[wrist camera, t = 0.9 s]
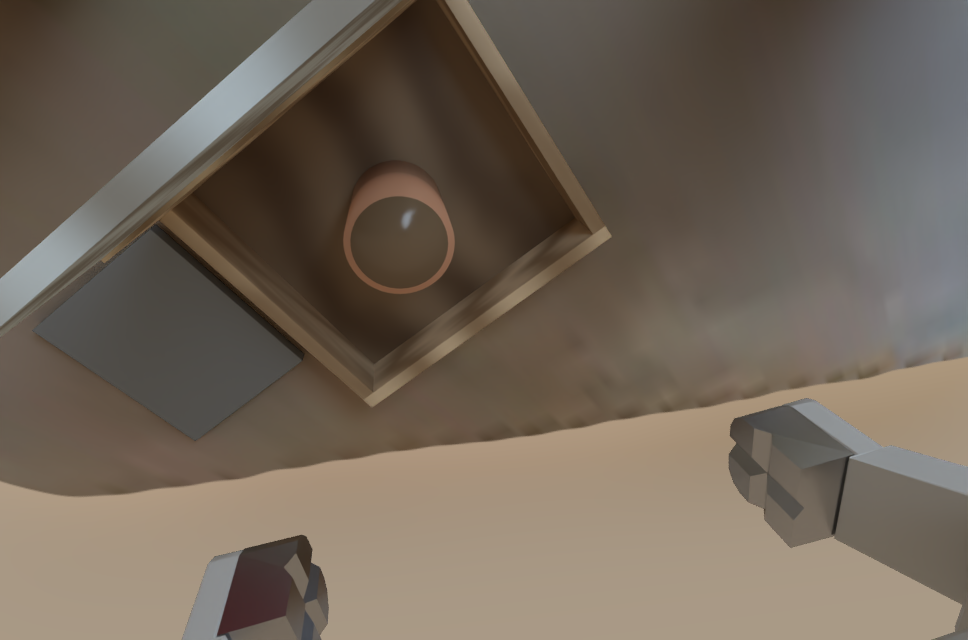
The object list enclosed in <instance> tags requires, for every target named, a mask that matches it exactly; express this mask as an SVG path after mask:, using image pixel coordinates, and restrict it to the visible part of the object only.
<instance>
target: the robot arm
mask: <svg viewBox="0 0 968 640" xmlns="http://www.w3.org/2000/svg"><path fill="white" fill-rule="evenodd" d="M730 436H731V438H732V439H733V440H734V441H735V442H736V445H735V446H734V448H733V449H732V450H731V452H730V453H729V470H730V474H731V476H732V480H733V482H734V484H735V486H736V487H737V489H738V491H739V492H740V493H741V494H742V496H743V497H744V498H745V499H746V500H747V501H748V502H749V503H751V504H754V505H756V506H758V507H761V508H763V509H764V519H765V521H766V522H767V523H768V524H769V525H770V526H771V527H772V529H773V530H774V531H775V532H776V533H777V534H778V535H779V536H780V537H781V538H782V539H783V540H784V541H785V543H786V544H787V545H788V546H789V547H791V548H792V547H795V546H799V545H803V544H807V543H810V542H814V541H818V540H821V539H825V538H829V537H833V536H835V539H836V540H838V541H840V542H842V543H844V544H846V545H848V546H850V547H852V548H854V549H856V550H858V551H859V552H861V553H863V554H865V555H867V556H869V557H871V558H873V559H875V560H877V561H879V562H881V563H883V564H885V565H887V566H889V567H890V568H893V569H894V570H896V571H898V572H900V573H902V574H904V575H906V576H908V577H910V578H912V579H914V580H916V581H918V582H920V583H921V584H923V585H925V586H927V587H929V588H931V589H933V590H935V591H937V592H939V593H941V594H943V595H945V596H947V597H949V598H950V599H952V600H954V601H956V602H958V603H960V604H962V608H961V611H960V614H959V617H958V619H957V622H956V625H955V632H953V633H950V634H947V635H944V636H941V637H939V638H936V639H933V640H968V467H966V466H963V465H959V464H956V463H952V462H949V461H945V460H941V459H938V458H934V457H931V456H927V455H923V454H920V453H917V452H913V451H909V450H906V449H902V448H899V447H895V446H892V445H891V446H887V447H882V446H881V445H879V444H878V443H876V442H875V441H873V440H872V439H871V438H869V437H867V436H866V435H865V434H863V433H862V432H860V431H859V430H858V429H856V428H855V427H853V426H852V425H850V424H849V423H847V422H846V421H845V420H843V419H842V418H840V417H839V416H837V415H836V414H834V413H833V412H832V411H830V410H829V409H827V408H826V407H824V406H823V405H821V404H820V403H818V402H817V401H815V400H812V399H809V398H805V399H801V400H798V401H795V402H791V403H788V404H784V405H782V406H778V407H774V408H771V409H767V410H764V411H760V412H756V413H753V414H749V415H745V416H742V417H738V418H735V419H734V420H733V422H732V424H731V429H730ZM311 557H312V548H311V545H310V544H309V541H308V539H307V537H306V536H304V535H299V536H295V537H291V538H286V539H283V540H278V541H274V542H270V543H266V544H262V545H258V546H254V547H249V548H245V549H244V550H240V551H236V552H232V553H228V554H223V555H219V556H215V557H214V558H213V559H212V560H211V561H210V562H209V564H208V565H207V569H206V571H205V574H204V577H203V580H202V582H201V586H200V588H199V592H198V594H197V597H196V600H195V603H194V606H193V608H192V611H191V614H190V617H189V620H188V623H187V626H186V629H185V632H184V634H183V637H182V640H321V638H320V634H321V632H322V631H323V630H324V628H325V627H326V625H327V624H328V608H329V607H328V596H327V588H326V584H325V580H324V576H323V574H322V571H321V569H320V567H318V566H316V565H314V564H313V563H311Z"/></svg>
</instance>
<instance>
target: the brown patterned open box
mask: <svg viewBox="0 0 968 640" xmlns="http://www.w3.org/2000/svg"><path fill="white" fill-rule="evenodd" d="M391 160H399V161H406V162H409V163H412V164H415V165H417V166H419V167H420V168H422V169H423V170H425V171H426V172H427V173H428V174H429V175H430V176H431V177H432V178H433V180H434V181H435V183H436V185H437V187H438V189H439V191H440V194H441V197H442V200H443V202H444V205H445V208H446V211H447V214H448V216H449V219H450V222H451V225H452V228H453V232H454V239H455V246H454V253H453V257H452V260H451V262H450V264H449V266H448V268H447V270H446V271H445V272H444V274H443V275H442V276H441V277H440V278H439V279H438V280H437V281H436V282H434V283H433V284H432V285H430V286H428V287H426V288H424V289H422V290H419V291H417V292H412V293H406V294H393V293H387V292H383V291H380V290H378V289H375V288H373V287H371V286H370V285H368V284H367V283H365V282H364V281H363V280H361V279H360V278H359V277H358V276H357V275H356V273H355V272H354V271H353V270H352V268H351V266H350V265H349V263H348V261H347V258H346V255H345V251H344V245H343V237H344V230H345V225H346V220H347V216H348V211H349V207H350V202H351V198H352V193H353V190H354V187H355V185H356V183H357V181H358V179H359V178H360V177H361V176H362V174H363V173H364V172H366V171H367V170H368V169H369V168H371V167H372V166H374V165H376V164H378V163H381V162H385V161H391ZM158 220H160V221H161V222H162V223H163V224H164V225H165V226H166V227H168V228H169V229H170V230H171V231H172V232H173V233H174V234H176V235H177V236H178V237H179V238H180V239H181V240H182V241H183V242H185V243H186V244H187V245H188V246H189V247H190V248H191V249H193V250H194V251H195V252H196V253H197V254H198V255H199V256H200V257H202V258H203V259H204V260H205V261H206V262H207V263H208V264H210V265H211V266H212V267H213V268H214V269H215V270H216V271H217V272H219V273H220V274H221V275H222V276H223V277H224V278H225V279H227V280H228V281H229V282H230V283H231V284H232V285H233V286H234V287H236V288H237V289H238V290H239V291H240V292H241V293H242V294H244V295H245V296H246V297H247V298H248V299H249V300H250V301H252V302H253V303H254V304H255V305H256V306H257V307H258V308H259V309H261V310H262V311H263V312H264V313H265V314H266V315H267V316H269V317H270V318H271V319H272V320H273V321H274V322H275V323H276V324H278V325H279V326H280V327H281V328H282V329H283V330H284V331H286V332H287V333H288V334H289V335H290V336H291V337H292V338H293V339H295V340H296V341H297V342H298V343H299V344H300V345H301V346H303V347H304V348H305V349H306V350H307V351H308V352H309V353H310V354H312V355H313V356H314V357H315V358H316V359H317V360H318V361H320V362H321V363H322V364H323V365H324V366H325V367H326V368H328V369H329V370H330V371H331V372H332V373H333V374H334V375H335V376H337V377H338V378H339V379H340V380H341V381H342V382H343V383H345V384H346V385H347V386H348V387H349V388H350V389H351V390H352V391H354V392H355V393H356V394H357V395H358V396H359V397H360V398H362V399H363V400H364V401H365V402H366V403H367V404H368V405H369V406H371V407H374V406H375V405H376V404H378V403H379V402H381V401H382V400H383V399H385V398H386V397H388V396H389V395H390V394H392V393H393V392H395V391H396V390H398V389H399V388H400V387H402V386H403V385H405V384H406V383H407V382H409V381H410V380H412V379H413V378H414V377H416V376H417V375H419V374H420V373H421V372H423V371H424V370H426V369H427V368H428V367H430V366H431V365H433V364H434V363H435V362H437V361H438V360H440V359H441V358H442V357H444V356H445V355H447V354H448V353H449V352H451V351H452V350H454V349H455V348H456V347H458V346H459V345H461V344H462V343H463V342H465V341H466V340H468V339H469V338H470V337H472V336H473V335H475V334H476V333H477V332H479V331H480V330H482V329H483V328H484V327H486V326H487V325H489V324H490V323H491V322H493V321H494V320H496V319H497V318H498V317H500V316H501V315H503V314H504V313H506V312H507V311H508V310H510V309H511V308H513V307H514V306H515V305H517V304H518V303H520V302H521V301H522V300H524V299H525V298H527V297H528V296H529V295H531V294H532V293H534V292H535V291H536V290H538V289H539V288H541V287H542V286H543V285H545V284H546V283H548V282H549V281H550V280H552V279H553V278H555V277H556V276H557V275H559V274H560V273H562V272H563V271H564V270H566V269H567V268H569V267H570V266H571V265H573V264H574V263H576V262H577V261H578V260H580V259H581V258H583V257H584V256H585V255H587V254H588V253H590V252H591V251H592V250H594V249H595V248H597V247H598V246H599V245H601V244H602V243H604V242H605V241H606V240H608V239H609V238H611V237H612V236H611V234H610V233H609V231H608V230H607V228H606V226H605V225H604V223H603V221H602V220H601V218H600V216H599V215H598V213H597V212H596V210H595V208H594V207H593V205H592V203H591V202H590V200H589V199H588V197H587V195H586V194H585V192H584V190H583V189H582V187H581V185H580V184H579V182H578V181H577V179H576V177H575V176H574V174H573V172H572V171H571V169H570V168H569V166H568V164H567V163H566V161H565V159H564V158H563V156H562V154H561V153H560V151H559V150H558V148H557V146H556V145H555V143H554V141H553V140H552V138H551V137H550V135H549V133H548V132H547V130H546V128H545V127H544V125H543V123H542V122H541V120H540V119H539V117H538V115H537V114H536V112H535V110H534V109H533V107H532V105H531V104H530V102H529V101H528V99H527V97H526V96H525V94H524V92H523V91H522V89H521V88H520V86H519V84H518V83H517V81H516V79H515V78H514V76H513V74H512V73H511V71H510V70H509V68H508V66H507V65H506V63H505V61H504V60H503V58H502V57H501V55H500V53H499V52H498V50H497V48H496V47H495V45H494V43H493V42H492V40H491V39H490V37H489V35H488V34H487V32H486V30H485V29H484V27H483V26H482V24H481V22H480V21H479V19H478V17H477V16H476V14H475V12H474V11H473V9H472V8H471V6H470V4H469V3H468V1H467V0H312V1H311V2H310V3H309V4H308V5H306V6H305V7H304V8H303V9H302V10H301V11H300V12H299V13H297V14H296V15H295V16H294V17H293V18H292V19H291V20H290V21H289V22H287V23H286V24H285V25H284V26H283V27H282V28H281V29H280V30H278V31H277V32H276V33H275V34H274V35H273V36H272V37H271V38H270V39H268V40H267V41H266V42H265V43H264V44H263V45H262V46H261V47H259V48H258V49H257V50H256V51H255V52H254V53H253V54H252V55H250V56H249V57H248V58H247V59H246V60H245V61H244V62H243V63H242V64H240V65H239V66H238V67H237V68H236V69H235V70H234V71H233V72H231V73H230V74H229V75H228V76H227V77H226V78H225V79H224V80H222V81H221V82H220V83H219V84H218V85H217V86H216V87H215V88H214V89H212V90H211V91H210V92H209V93H208V94H207V95H206V96H205V97H203V98H202V99H201V100H200V101H199V102H198V103H197V104H196V105H194V106H193V107H192V108H191V109H190V110H189V111H188V112H187V113H186V114H184V115H183V116H182V117H181V118H180V119H179V120H178V121H177V122H175V123H174V124H173V125H172V126H171V127H170V128H169V129H168V130H166V131H165V132H164V133H163V134H162V135H161V136H160V137H159V138H158V139H156V140H155V141H154V142H153V143H152V144H151V145H150V146H149V147H147V148H146V149H145V150H144V151H143V152H142V153H141V154H140V155H139V156H137V157H136V158H135V159H134V160H133V161H132V162H131V163H130V164H128V165H127V166H126V167H125V168H124V169H123V170H122V171H121V172H119V173H118V174H117V175H116V176H115V177H114V178H113V179H112V180H111V181H109V182H108V183H107V184H106V185H105V186H104V187H103V188H102V189H100V190H99V191H98V192H97V193H96V194H95V195H94V196H93V197H91V198H90V199H89V200H88V201H87V202H86V203H85V204H84V205H83V206H81V207H80V208H79V209H78V210H77V211H76V212H75V213H74V214H72V215H71V216H70V217H69V218H68V219H67V220H66V221H65V222H63V223H62V224H61V225H60V226H59V227H58V228H57V229H56V230H55V231H53V232H52V233H51V234H50V235H49V236H48V237H47V238H46V239H44V240H43V241H42V242H41V243H40V244H39V245H38V246H37V247H35V248H34V249H33V250H32V251H31V252H30V253H29V254H28V255H27V256H25V257H24V258H23V259H22V260H21V261H20V262H19V263H18V264H16V265H15V266H14V267H13V268H12V269H11V270H10V271H9V272H8V273H6V274H5V275H4V276H3V277H2V278H1V279H0V337H1V336H3V335H4V334H5V333H6V332H8V331H9V330H10V329H12V328H13V327H14V326H16V325H17V324H18V323H19V322H21V321H22V320H23V319H25V318H26V317H27V316H29V315H30V314H31V313H33V312H34V311H35V310H36V309H38V308H39V307H40V306H42V305H43V304H44V303H46V302H47V301H48V300H49V299H51V298H52V297H53V296H55V295H56V294H57V293H59V292H60V291H61V290H62V289H64V288H65V287H66V286H68V285H69V284H70V283H72V282H73V281H74V280H75V279H77V278H78V277H79V276H81V275H82V274H83V273H85V272H86V271H87V270H88V269H90V268H91V267H92V266H94V265H95V264H96V263H98V262H99V261H100V260H101V261H102V262H103V263H105V262H106V261H108V260H109V259H110V258H112V257H113V256H114V255H115V254H117V253H118V252H119V251H120V250H122V249H123V248H124V247H125V246H127V245H128V244H129V243H131V242H132V241H133V240H134V239H136V238H137V237H138V236H139V235H141V234H142V233H143V232H144V231H146V230H147V229H148V228H149V227H151V226H152V225H153V224H155V223H156V222H157V221H158Z"/></svg>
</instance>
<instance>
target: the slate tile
mask: <svg viewBox="0 0 968 640" xmlns="http://www.w3.org/2000/svg"><path fill="white" fill-rule="evenodd" d="M32 331H33V332H35V333H36V334H38V335H39V336H41V337H42V338H44V339H45V340H47V341H48V342H50V343H51V344H53V345H54V346H55V347H57V348H58V349H60V350H61V351H63V352H64V353H66V354H67V355H69V356H70V357H72V358H73V359H75V360H76V361H78V362H79V363H81V364H82V365H84V366H85V367H86V368H88V369H89V370H91V371H92V372H94V373H95V374H97V375H98V376H100V377H101V378H103V379H104V380H106V381H107V382H109V383H110V384H112V385H113V386H115V387H116V388H118V389H119V390H120V391H122V392H123V393H125V394H126V395H128V396H129V397H131V398H132V399H134V400H135V401H137V402H138V403H140V404H141V405H143V406H144V407H146V408H147V409H149V410H150V411H151V412H153V413H154V414H156V415H157V416H159V417H160V418H162V419H163V420H165V421H166V422H168V423H169V424H171V425H172V426H174V427H175V428H177V429H178V430H180V431H181V432H182V433H184V434H185V435H187V436H188V437H190V438H191V439H193V440H194V441H196V440H198V439H199V438H200V437H202V436H203V435H204V434H206V433H207V432H208V431H210V430H211V429H212V428H214V427H215V426H216V425H218V424H219V423H220V422H222V421H223V420H224V419H226V418H227V417H228V416H230V415H231V414H232V413H233V412H235V411H236V410H237V409H239V408H240V407H241V406H243V405H244V404H245V403H247V402H248V401H249V400H251V399H252V398H253V397H255V396H256V395H257V394H259V393H260V392H261V391H263V390H264V389H265V388H267V387H268V386H269V385H271V384H272V383H273V382H275V381H276V380H277V379H279V378H280V377H281V376H283V375H284V374H285V373H287V372H288V371H289V370H291V369H292V368H293V367H295V366H296V365H297V364H299V363H300V362H301V361H302V360H303V357H304V354H303V353H302V352H301V351H300V350H299V349H298V348H296V347H295V346H294V345H293V344H292V343H291V342H290V341H288V340H287V339H286V338H285V337H284V336H283V335H282V334H280V333H279V332H278V331H277V330H276V329H275V328H274V327H272V326H271V325H270V324H269V323H268V322H267V321H266V320H264V319H263V318H262V317H261V316H260V315H259V314H258V313H256V312H255V311H254V310H253V309H252V308H251V307H250V306H248V305H247V304H246V303H245V302H244V301H243V300H242V299H240V298H239V297H238V296H237V295H236V294H235V293H234V292H232V291H231V290H230V289H229V288H228V287H227V286H226V285H224V284H223V283H222V282H221V281H220V280H219V279H218V278H216V277H215V276H214V275H213V274H212V273H211V272H209V271H208V270H207V269H206V268H205V267H204V266H203V265H201V264H200V263H199V262H198V261H197V260H196V259H195V258H193V257H192V256H191V255H190V254H189V253H188V252H187V251H185V250H184V249H183V248H182V247H181V246H180V245H179V244H177V243H176V242H175V241H174V240H173V239H172V238H171V237H169V236H168V235H167V234H166V233H165V232H164V231H163V230H161V229H160V228H159V227H158V226H157V225H155V226H153V227H152V228H151V229H150V230H149V231H147V232H146V233H145V234H144V235H143V236H142V237H140V238H139V239H138V240H137V241H136V242H135V243H133V244H132V245H131V246H130V247H129V248H128V249H126V250H125V251H124V252H123V253H122V254H121V255H119V256H118V257H117V258H116V259H115V260H114V261H112V262H111V263H110V264H109V265H108V266H107V267H105V268H104V269H103V270H102V271H101V272H100V273H98V274H97V275H96V276H95V277H94V278H93V279H91V280H90V281H89V282H88V283H87V284H86V285H84V286H83V287H82V288H81V289H80V290H79V291H77V292H76V293H75V294H74V295H73V296H72V297H70V298H69V299H68V300H67V301H66V302H65V303H63V304H62V305H61V306H60V307H59V308H58V309H56V310H55V311H54V312H53V313H52V314H51V315H49V316H48V317H47V318H46V319H45V320H44V321H42V322H41V323H40V324H39V325H38V326H37V327H35V328H34V329H33V330H32Z"/></svg>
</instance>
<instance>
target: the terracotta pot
mask: <svg viewBox="0 0 968 640" xmlns="http://www.w3.org/2000/svg"><path fill="white" fill-rule="evenodd" d="M343 245H344V251H345V255H346V258H347V261H348V263H349V265H350V266H351V268H352V270H353V271H354V272H355V273H356V275H357V276H358V277H359V278H360V279H361V280H363V281H364V282H365V283H367V284H368V285H370V286H371V287H373V288H375V289H378V290H380V291H383V292H387V293H393V294H406V293H412V292H417V291H419V290H422V289H424V288H426V287H428V286H430V285H432V284H433V283H434V282H436V281H437V280H438V279H439V278H440V277H441V276H442V275H443V274H444V272H445V271H446V270H447V268H448V266H449V264H450V262H451V260H452V257H453V253H454V246H455V239H454V232H453V228H452V225H451V222H450V219H449V216H448V214H447V211H446V208H445V205H444V202H443V200H442V197H441V194H440V191H439V189H438V187H437V185H436V183H435V181H434V180H433V178H432V177H431V176H430V175H429V174H428V173H427V172H426V171H425V170H423V169H422V168H420V167H419V166H417V165H415V164H412V163H409V162H406V161H399V160H391V161H385V162H381V163H378V164H376V165H374V166H372V167H371V168H369V169H368V170H367V171H366V172H364V173H363V174H362V176H361V177H360V178H359V179H358V181H357V183H356V185H355V187H354V190H353V193H352V198H351V202H350V207H349V211H348V216H347V220H346V225H345V230H344V237H343Z"/></svg>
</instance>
